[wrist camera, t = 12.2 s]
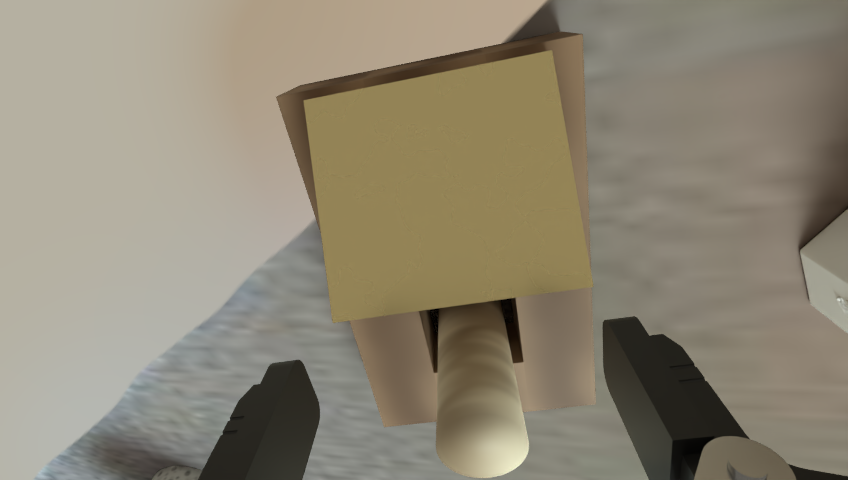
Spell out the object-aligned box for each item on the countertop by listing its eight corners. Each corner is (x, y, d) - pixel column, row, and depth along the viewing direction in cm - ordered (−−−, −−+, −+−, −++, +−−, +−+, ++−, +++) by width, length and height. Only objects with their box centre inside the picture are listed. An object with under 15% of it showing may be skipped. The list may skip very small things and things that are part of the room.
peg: (494, 264, 29) (524, 409, 18) (501, 314, 31) (532, 473, 20) (434, 273, 29) (428, 419, 19) (444, 322, 31) (444, 481, 20)
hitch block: (560, 31, 23) (582, 34, 19) (578, 361, 32) (595, 404, 29) (300, 85, 24) (276, 96, 21) (390, 383, 34) (384, 426, 30)
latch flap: (549, 58, 20) (551, 50, 19) (588, 285, 19) (593, 286, 18) (310, 106, 21) (303, 100, 20) (338, 320, 20) (332, 322, 19)
